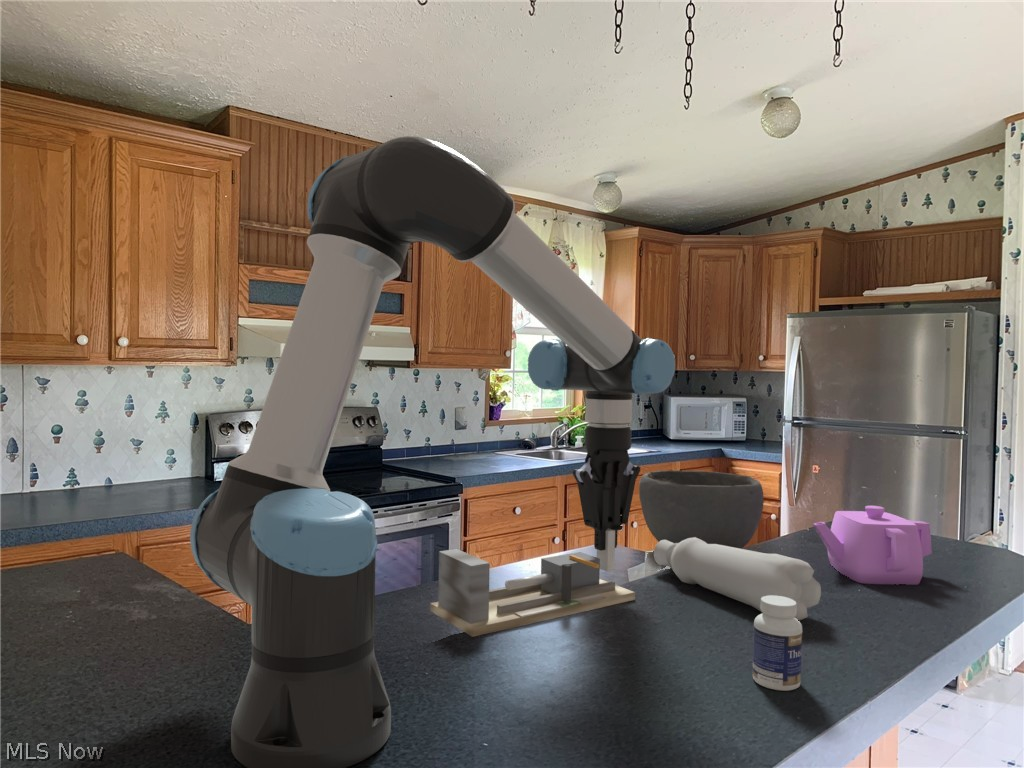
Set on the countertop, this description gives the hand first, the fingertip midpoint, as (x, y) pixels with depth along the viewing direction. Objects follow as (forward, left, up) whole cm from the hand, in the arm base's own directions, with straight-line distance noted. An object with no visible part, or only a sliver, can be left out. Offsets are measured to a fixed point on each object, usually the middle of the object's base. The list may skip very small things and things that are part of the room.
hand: (605, 568), depth 121 cm
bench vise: (0, +14, -4) cm, 15 cm away
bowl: (+10, -34, -4) cm, 36 cm away
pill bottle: (-37, +6, -4) cm, 38 cm away
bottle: (-12, -16, -4) cm, 20 cm away
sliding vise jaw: (-2, +11, -2) cm, 12 cm away
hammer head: (-5, +12, -2) cm, 14 cm away
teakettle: (-17, -49, -4) cm, 52 cm away
